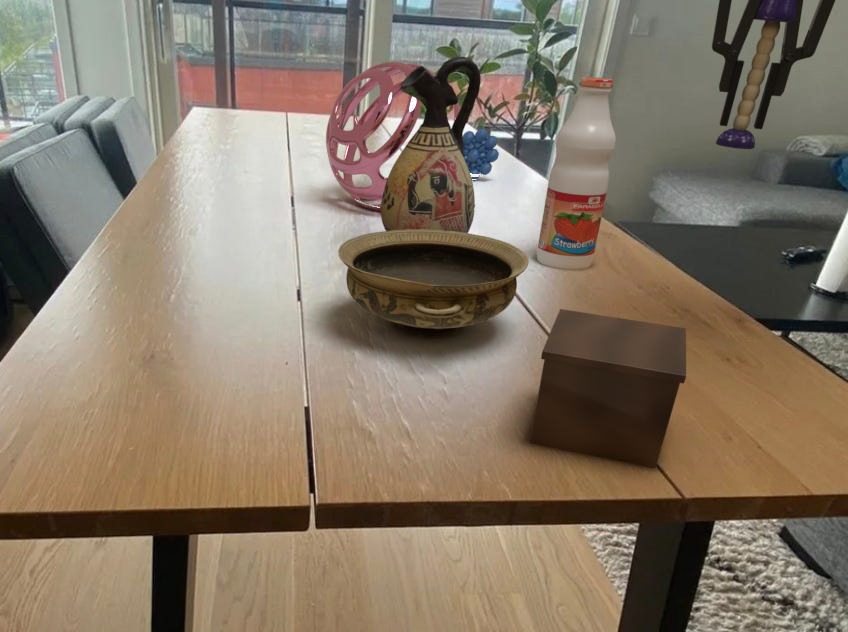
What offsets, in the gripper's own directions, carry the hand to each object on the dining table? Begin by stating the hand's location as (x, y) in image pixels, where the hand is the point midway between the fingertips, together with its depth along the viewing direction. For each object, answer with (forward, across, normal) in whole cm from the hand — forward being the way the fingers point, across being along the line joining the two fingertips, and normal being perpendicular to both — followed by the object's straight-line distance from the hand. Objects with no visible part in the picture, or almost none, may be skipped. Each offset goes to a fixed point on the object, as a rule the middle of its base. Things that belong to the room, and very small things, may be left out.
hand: (740, 125), depth 88 cm
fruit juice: (+26, +20, -29) cm, 44 cm away
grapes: (+26, +51, -90) cm, 106 cm away
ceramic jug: (+26, +42, -21) cm, 54 cm away
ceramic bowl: (+26, +32, +12) cm, 43 cm away
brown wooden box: (+26, +8, +32) cm, 42 cm away
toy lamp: (+2, 0, 0) cm, 2 cm away
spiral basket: (+26, +60, -51) cm, 83 cm away
